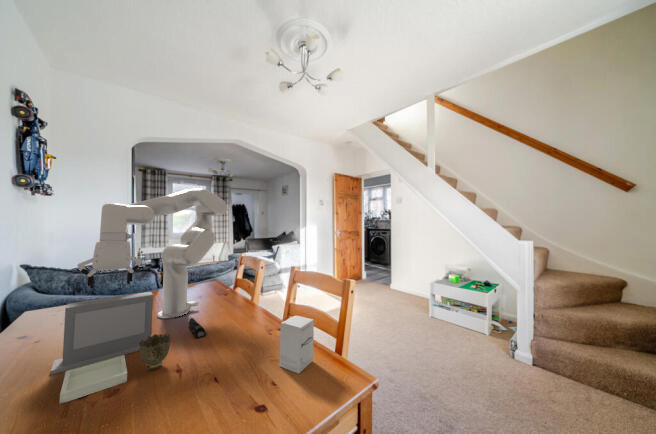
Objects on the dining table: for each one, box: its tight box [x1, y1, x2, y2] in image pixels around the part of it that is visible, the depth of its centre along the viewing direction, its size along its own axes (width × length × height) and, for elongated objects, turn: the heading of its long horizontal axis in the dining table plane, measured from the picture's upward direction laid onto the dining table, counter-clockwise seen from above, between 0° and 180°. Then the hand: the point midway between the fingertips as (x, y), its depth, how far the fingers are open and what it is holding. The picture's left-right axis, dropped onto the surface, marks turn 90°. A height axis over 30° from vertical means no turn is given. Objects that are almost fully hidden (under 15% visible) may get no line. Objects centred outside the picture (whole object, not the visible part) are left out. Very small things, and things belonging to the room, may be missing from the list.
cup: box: [139, 333, 172, 371], centre depth 68 cm, size 8×7×8 cm
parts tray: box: [59, 354, 128, 405], centre depth 62 cm, size 12×12×2 cm
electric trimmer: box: [188, 317, 207, 340], centre depth 92 cm, size 4×16×3 cm, turn 41°
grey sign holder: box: [50, 291, 154, 375], centre depth 75 cm, size 24×7×17 cm, turn 133°
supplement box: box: [279, 315, 315, 374], centre depth 70 cm, size 7×7×13 cm
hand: (110, 285), depth 85 cm, fingers open, 9 cm apart
